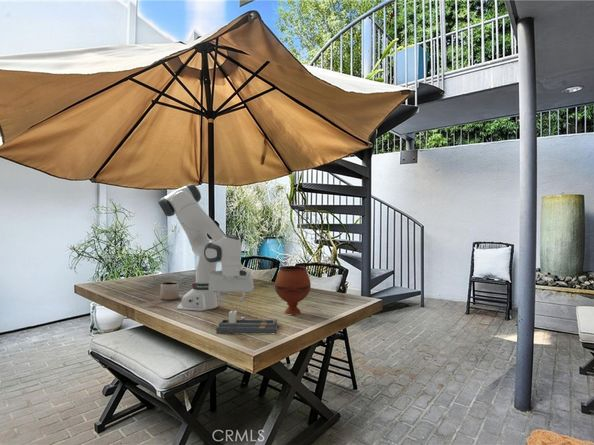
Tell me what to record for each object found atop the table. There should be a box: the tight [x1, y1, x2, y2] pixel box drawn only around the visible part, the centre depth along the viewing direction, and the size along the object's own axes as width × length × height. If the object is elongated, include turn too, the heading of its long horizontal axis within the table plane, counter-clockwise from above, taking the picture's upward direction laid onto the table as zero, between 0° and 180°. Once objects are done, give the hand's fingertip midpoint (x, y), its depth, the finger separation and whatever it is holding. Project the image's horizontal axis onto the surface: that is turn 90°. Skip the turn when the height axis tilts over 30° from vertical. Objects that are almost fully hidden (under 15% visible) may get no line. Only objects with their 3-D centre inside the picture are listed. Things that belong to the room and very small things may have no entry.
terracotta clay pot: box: [274, 265, 311, 316], centre depth 181 cm, size 19×19×25 cm
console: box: [215, 316, 278, 334], centre depth 154 cm, size 26×13×4 cm, turn 90°
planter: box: [160, 281, 180, 301], centre depth 213 cm, size 11×11×10 cm
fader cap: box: [228, 310, 238, 323], centre depth 154 cm, size 3×4×5 cm
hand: (231, 301), depth 153 cm, fingers open, 8 cm apart
